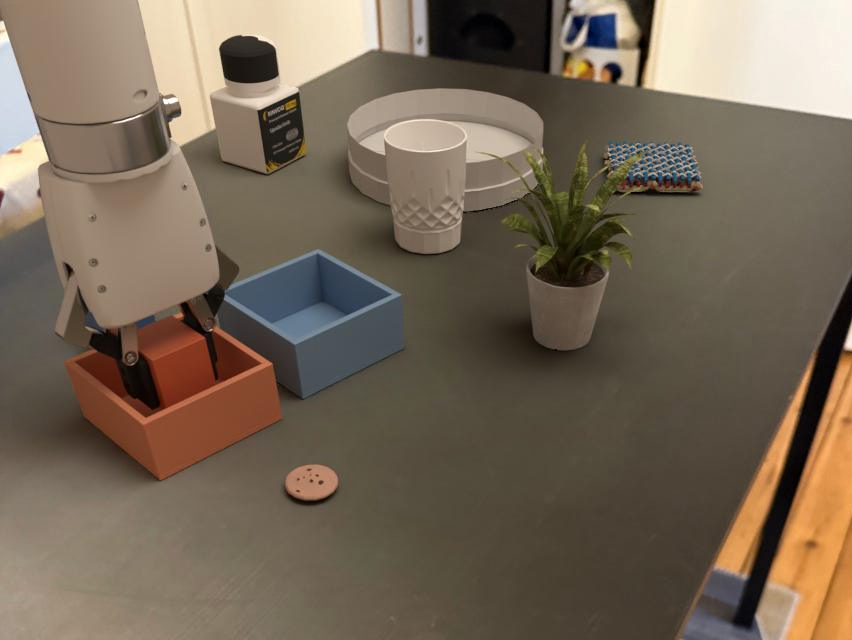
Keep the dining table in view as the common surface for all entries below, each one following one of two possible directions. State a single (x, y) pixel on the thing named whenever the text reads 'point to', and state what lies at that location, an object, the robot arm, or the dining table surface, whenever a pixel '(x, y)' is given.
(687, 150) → the woven mat
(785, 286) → the dining table surface
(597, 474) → the dining table surface
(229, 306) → the blue bin
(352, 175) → the dish
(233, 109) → the medicine bottle
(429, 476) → the dining table surface
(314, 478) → the cookie
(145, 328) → the terracotta block
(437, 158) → the white cup
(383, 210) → the dining table surface
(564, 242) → the house plant
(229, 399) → the terracotta bin
